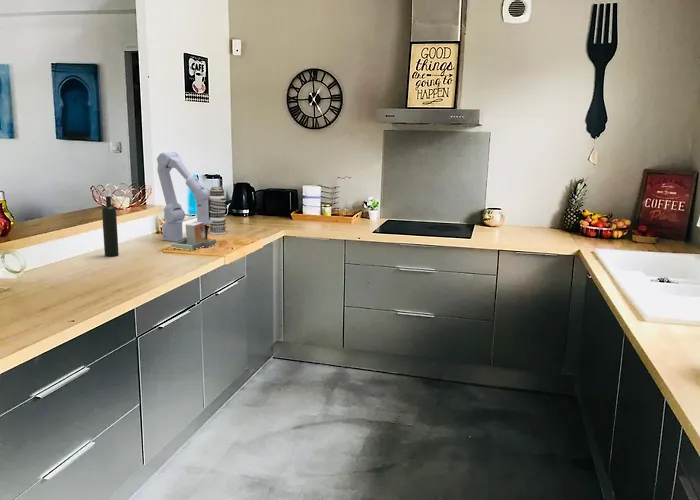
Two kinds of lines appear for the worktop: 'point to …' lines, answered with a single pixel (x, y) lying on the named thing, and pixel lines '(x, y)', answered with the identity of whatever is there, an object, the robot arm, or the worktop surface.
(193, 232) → the small box
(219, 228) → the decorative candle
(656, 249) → the worktop surface
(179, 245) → the keyhole jig
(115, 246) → the wine bottle
